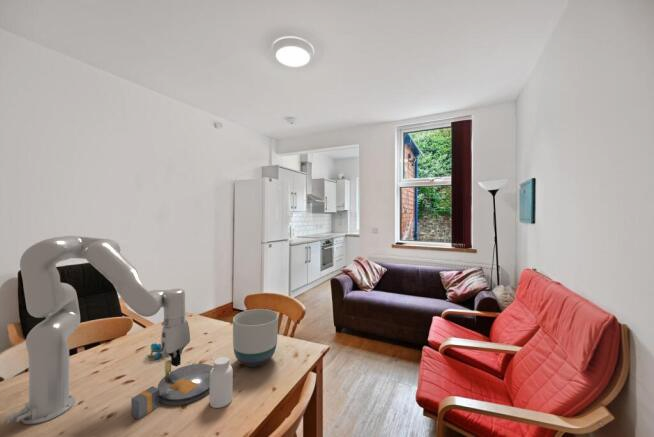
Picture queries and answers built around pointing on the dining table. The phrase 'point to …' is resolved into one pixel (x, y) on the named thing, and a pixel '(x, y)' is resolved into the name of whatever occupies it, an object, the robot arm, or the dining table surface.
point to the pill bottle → (221, 383)
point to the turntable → (184, 381)
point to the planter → (255, 336)
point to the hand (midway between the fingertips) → (176, 364)
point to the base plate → (183, 402)
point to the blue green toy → (155, 349)
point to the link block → (145, 402)
